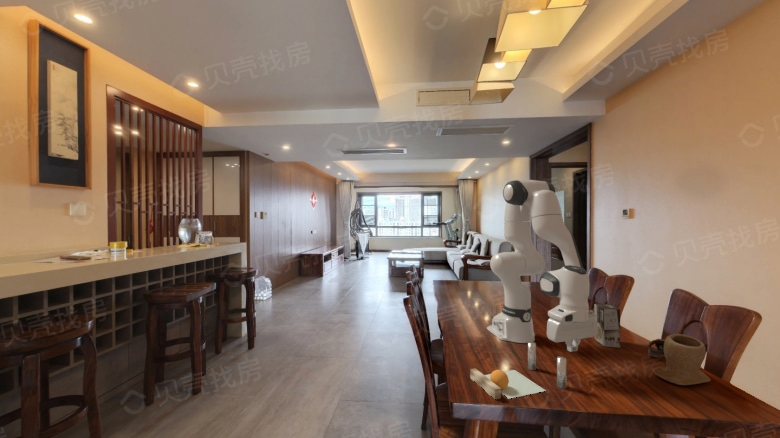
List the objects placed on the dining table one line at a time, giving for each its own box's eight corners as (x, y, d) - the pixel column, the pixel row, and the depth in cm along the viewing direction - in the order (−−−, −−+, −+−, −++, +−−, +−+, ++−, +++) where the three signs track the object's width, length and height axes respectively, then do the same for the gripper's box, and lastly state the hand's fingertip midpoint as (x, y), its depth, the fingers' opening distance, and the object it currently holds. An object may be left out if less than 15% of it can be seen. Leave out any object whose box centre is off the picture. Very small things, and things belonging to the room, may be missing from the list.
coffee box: (621, 348, 127) (621, 309, 127) (604, 346, 128) (603, 308, 128) (610, 339, 136) (609, 303, 136) (594, 338, 137) (593, 302, 137)
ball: (485, 383, 97) (488, 365, 98) (500, 384, 98) (503, 367, 99) (495, 392, 92) (498, 373, 92) (510, 393, 93) (514, 375, 94)
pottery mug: (690, 368, 111) (679, 349, 110) (659, 373, 115) (649, 355, 114) (674, 347, 121) (664, 330, 121) (646, 353, 126) (637, 336, 125)
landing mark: (480, 376, 103) (480, 375, 103) (514, 370, 107) (514, 369, 107) (508, 399, 89) (508, 398, 89) (546, 391, 94) (546, 390, 94)
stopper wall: (470, 378, 101) (470, 369, 102) (475, 377, 102) (475, 368, 102) (495, 399, 89) (495, 389, 89) (500, 398, 90) (500, 388, 90)
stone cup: (685, 393, 93) (685, 344, 94) (647, 374, 105) (646, 330, 105) (725, 389, 96) (725, 341, 96) (683, 370, 107) (683, 328, 108)
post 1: (526, 367, 109) (526, 342, 110) (532, 366, 110) (532, 341, 110) (531, 370, 107) (531, 345, 107) (537, 369, 108) (537, 344, 108)
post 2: (555, 385, 97) (555, 356, 98) (561, 383, 98) (561, 355, 98) (561, 389, 95) (561, 360, 95) (568, 387, 96) (568, 359, 96)
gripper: (587, 307, 114) (585, 343, 114) (544, 311, 107) (542, 350, 108) (603, 312, 108) (602, 350, 108) (559, 318, 101) (557, 358, 102)
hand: (572, 350), depth 108 cm, fingers closed
